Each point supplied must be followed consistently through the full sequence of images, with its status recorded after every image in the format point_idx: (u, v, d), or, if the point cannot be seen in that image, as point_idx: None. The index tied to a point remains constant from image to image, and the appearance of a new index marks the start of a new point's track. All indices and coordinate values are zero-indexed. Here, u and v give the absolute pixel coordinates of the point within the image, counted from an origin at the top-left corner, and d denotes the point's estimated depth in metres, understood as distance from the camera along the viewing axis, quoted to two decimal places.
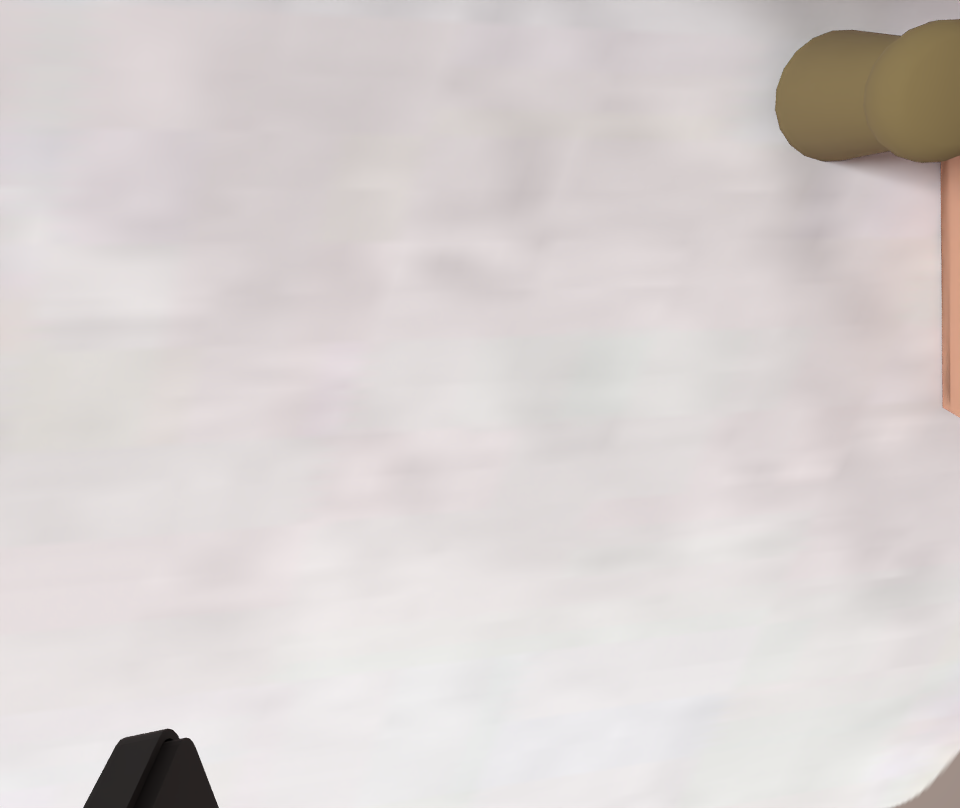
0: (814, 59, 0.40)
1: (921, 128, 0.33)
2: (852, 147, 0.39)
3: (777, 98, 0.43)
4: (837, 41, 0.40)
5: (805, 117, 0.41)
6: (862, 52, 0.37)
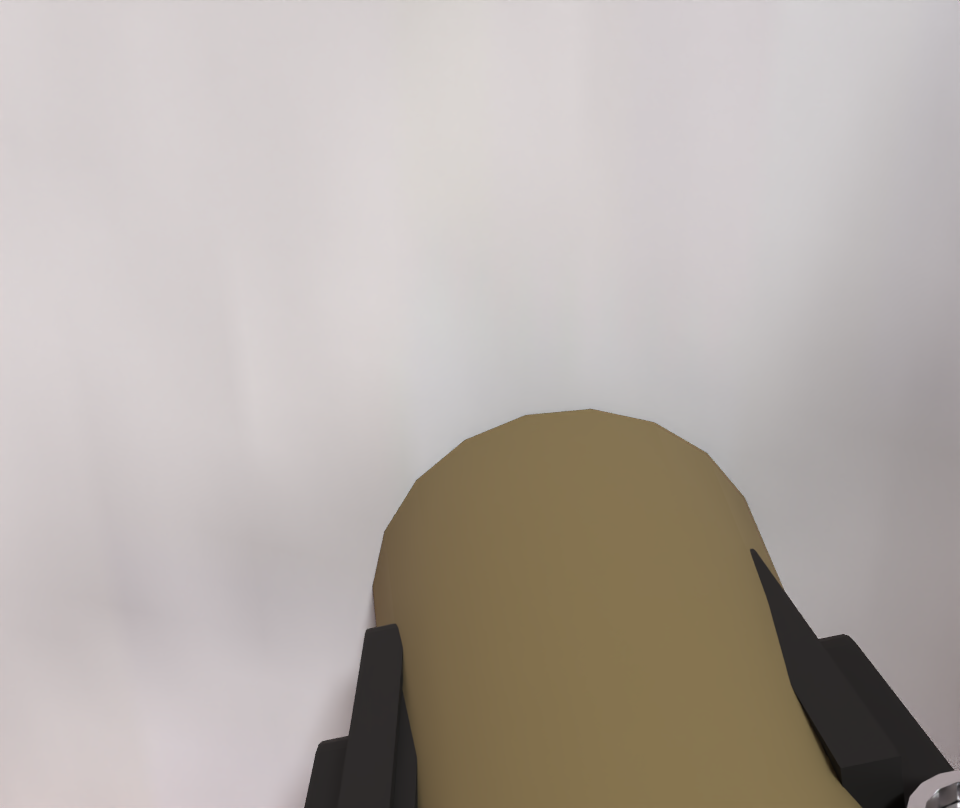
0: (718, 525, 0.11)
1: None
2: None
3: (563, 416, 0.13)
4: None
5: (515, 531, 0.10)
6: None
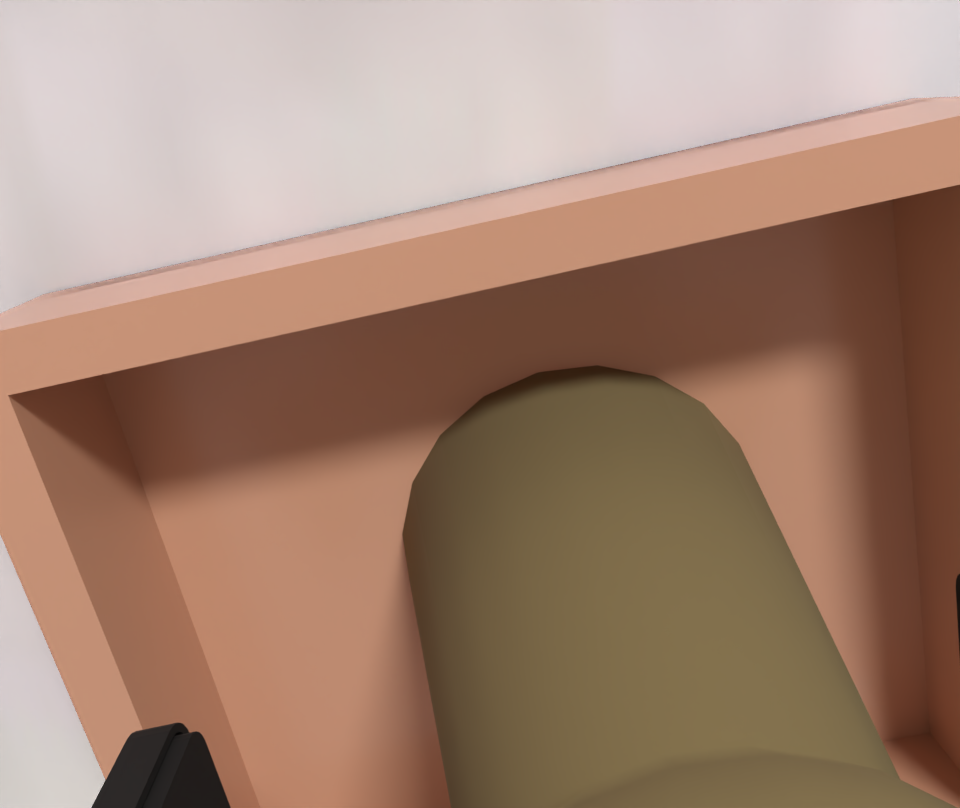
0: (713, 459, 0.12)
1: None
2: (448, 659, 0.10)
3: (572, 372, 0.14)
4: (774, 519, 0.12)
5: (532, 466, 0.12)
6: (818, 637, 0.09)
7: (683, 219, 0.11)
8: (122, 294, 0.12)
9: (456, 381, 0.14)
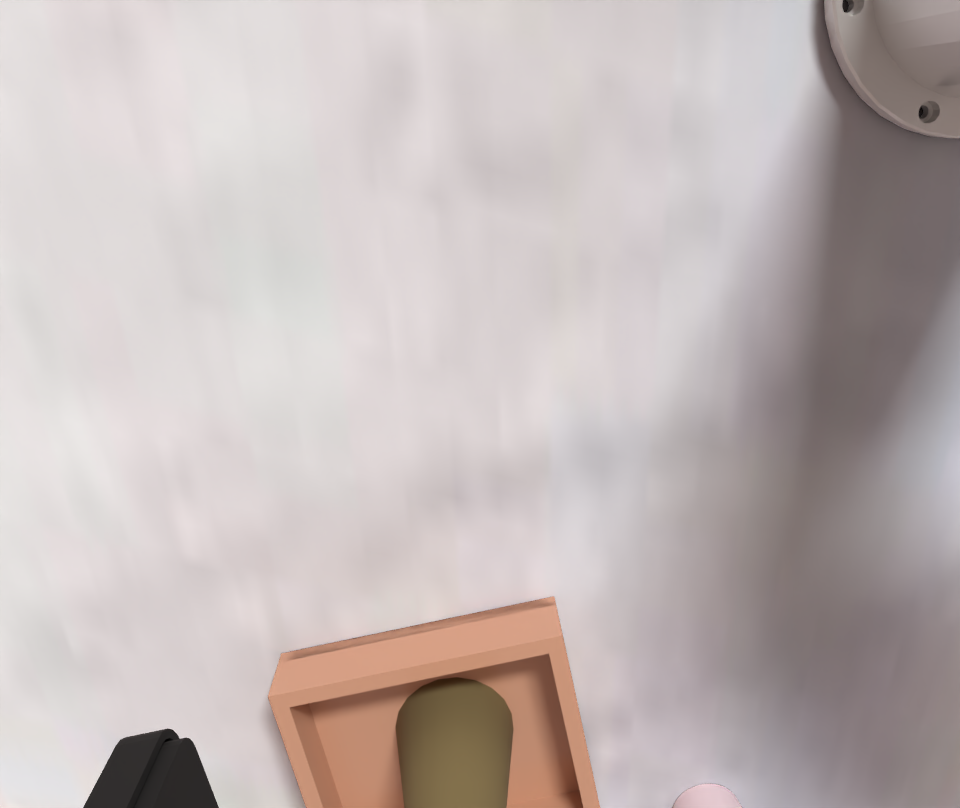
0: (483, 718, 0.43)
1: None
2: (405, 780, 0.41)
3: (448, 680, 0.44)
4: (500, 735, 0.43)
5: (430, 722, 0.42)
6: (490, 778, 0.40)
7: (467, 664, 0.41)
8: (317, 675, 0.42)
9: (412, 682, 0.45)
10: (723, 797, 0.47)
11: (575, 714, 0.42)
